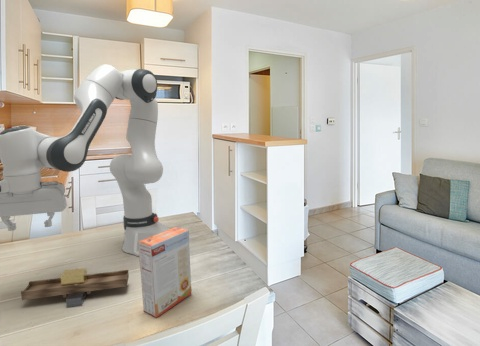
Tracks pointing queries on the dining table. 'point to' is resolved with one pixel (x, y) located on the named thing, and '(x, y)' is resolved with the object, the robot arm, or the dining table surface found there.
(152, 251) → the cracker box
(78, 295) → the fulcrum
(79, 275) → the rider
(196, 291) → the dining table surface
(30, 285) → the beam
